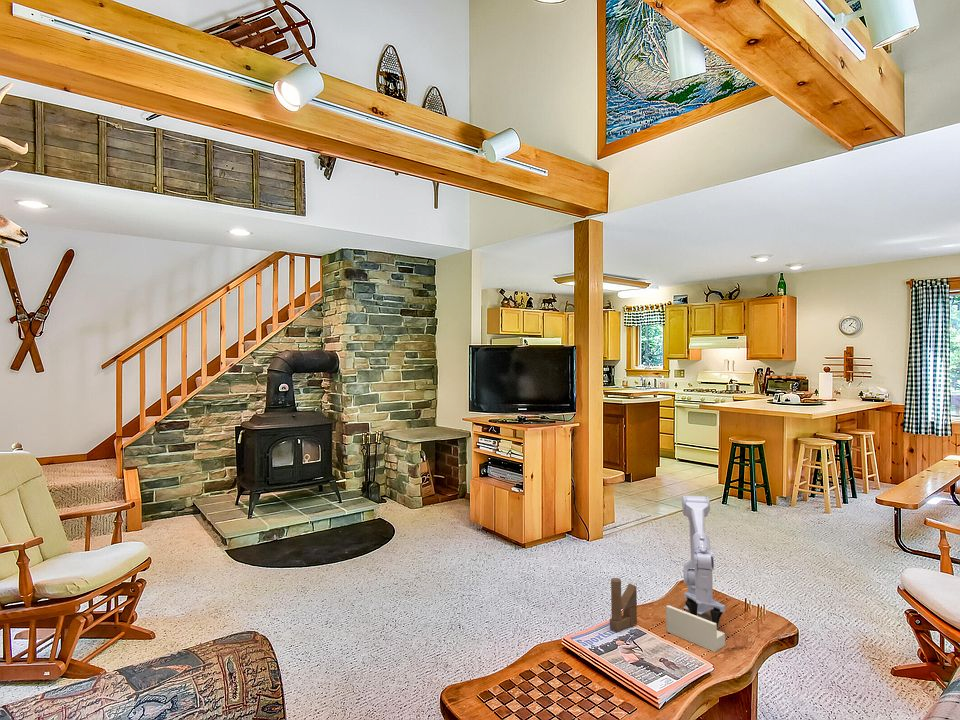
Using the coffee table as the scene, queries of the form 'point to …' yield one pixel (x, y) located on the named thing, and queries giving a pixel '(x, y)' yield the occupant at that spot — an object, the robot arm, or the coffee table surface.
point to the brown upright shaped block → (623, 606)
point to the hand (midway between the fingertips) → (704, 624)
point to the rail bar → (708, 616)
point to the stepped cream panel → (694, 629)
